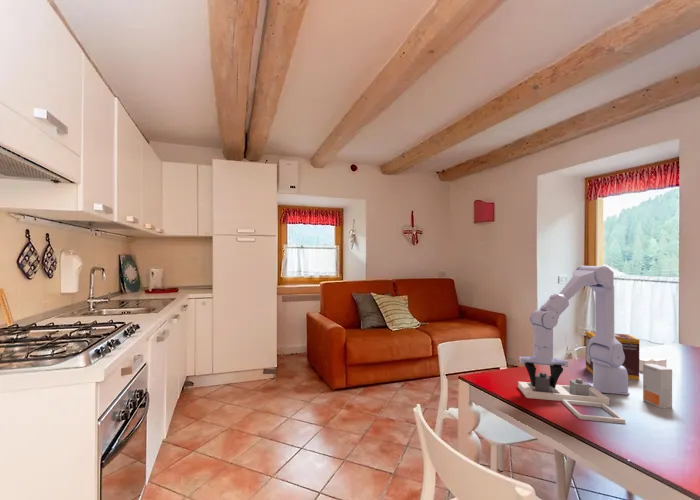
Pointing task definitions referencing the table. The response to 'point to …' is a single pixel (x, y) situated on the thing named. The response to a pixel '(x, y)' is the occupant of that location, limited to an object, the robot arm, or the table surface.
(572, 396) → the twin square frames
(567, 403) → the white square frame
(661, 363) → the napkin holder
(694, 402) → the table surface
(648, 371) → the skincare box
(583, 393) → the twin plug
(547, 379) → the plug
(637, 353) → the supplement box
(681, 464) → the table surface
